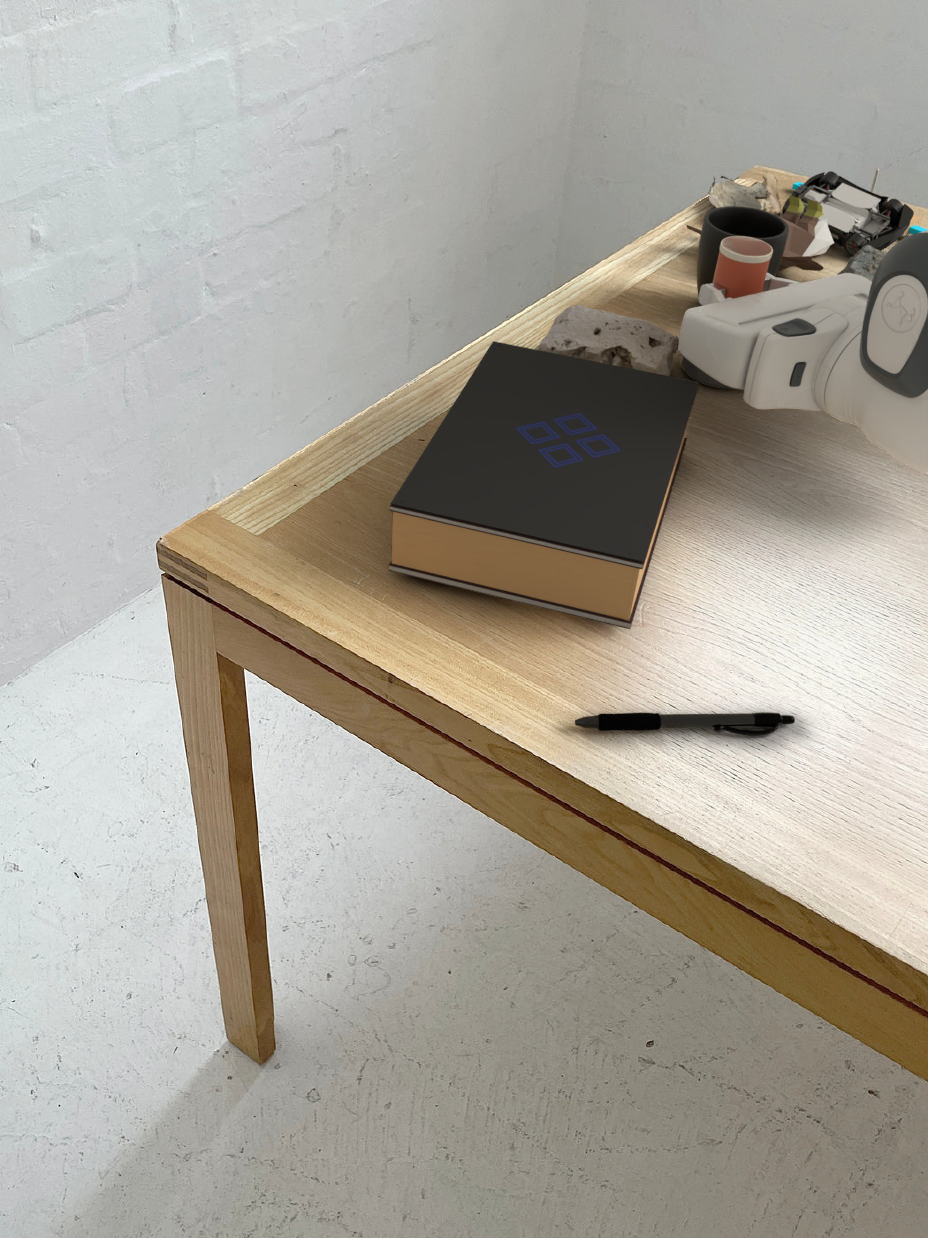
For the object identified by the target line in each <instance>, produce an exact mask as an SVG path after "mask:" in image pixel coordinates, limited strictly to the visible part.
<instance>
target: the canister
mask: <svg viewBox="0 0 928 1238" xmlns="http://www.w3.org/2000/svg"><path fill="white" fill-rule="evenodd" d="M772 253H773V249H772V247H771V246H770V245H769V244H768V243H766V242H764V241H762V240H759V239H756V238H752V237H746V236H732V237H727V238H725V239H723V240H722V241H721V244H720V252H719V256H718V261H717V265H716V270H715V274H714V279H713V283H714V282H717V283H718V284H719V285H722V286H724V287H725V288H727V291H726V295H725V297H724V298H725V299H726V298H732V299H734V298H738V297H743V296H747V295H751V294H756V293H760V292H762V290H763V286H764V282H765V278H766V274H767V270H768V266H769V262H770V258H771V256H772Z"/></svg>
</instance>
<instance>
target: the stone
mask: <svg viewBox="0 0 928 1238" xmlns="http://www.w3.org/2000/svg"><path fill="white" fill-rule="evenodd" d="M534 349H535V350H540V351H545V352H550V353H555V354H560V355H565V356H570V357H575V358H580V359H585V360H590V361H595V362H600V363H606V364H611V365H616V366H621V367H626V368H631V369H636V370H641V371H646V372H651V373H656V374H661V375H666V376H671V375H670V374H671V371H672V368H673V365H674V355H675V354H677V351H679V336H678V335H675V334H673V333H671V332H668V331H667V330H665V329H663V328H661V327H660V326H659V325H657V324H656V323H653V322H651V321H649V320H645V319H642V318H636V317H630V316H626V315H620V314H616V313H613V312H612V311H606V310H603V309H596V308H591V307H585V306H584V305H581V304H578V305H577V304H573V305H569V306H567V307H566V308H565V309H564V310H563V311H562V312H561V313H560V314H558V315H557V316H556V317H555V318H554V320H553V323H552V324H551V327H550V328H549V331H548V332H547V334H546V335H545V336H544V337H543V338H542V340H541V341H540V342H539V344H538V345H537V346H536V347H534Z"/></svg>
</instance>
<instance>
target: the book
mask: <svg viewBox="0 0 928 1238" xmlns="http://www.w3.org/2000/svg"><path fill="white" fill-rule="evenodd" d="M699 385H700V383H699V382H697V381H695V380H690V379H685V378H680V377H676V376H671V375H669V376H666V375H661V374H656V373H651V372H646V371H641V370H636V369H631V368H626V367H621V366H616V365H611V364H606V363H600V362H595V361H590V360H585V359H580V358H575V357H570V356H565V355H560V354H555V353H550V352H545V351H540V350H535V348H530V347H526V346H520V345H514V344H509V343H505V342H500V341H492V342H491V343H490V345H489V347H488V349H487V350H486V352H485V353H484V354H483V357H481V359H480V361H479V362H478V364H477V365H476V368H475V369H474V370H473V372H472V374H471V376H470V377H469V379H468V380H467V381H466V383H465V385H464V386H463V387H462V389H461V391H460V392H459V394H458V396H457V397H456V398H455V401H454V402H453V404H452V405H451V407H450V409H448V412H447V413H446V414H445V416H444V418H443V420H442V421H441V422H440V424H439V426H438V428H437V429H436V431H435V432H434V434H433V435H432V437H431V439H430V441H429V442H428V443H427V445H426V446H425V448H424V450H423V451H422V453H421V455H420V456H419V458H418V459H417V460H416V462H415V463H414V466H413V467H412V469H411V470H410V472H409V473H408V474H407V476H406V478H405V479H404V481H403V483H402V485H401V486H400V487H399V489H398V491H397V492H396V494H395V496H394V497H393V499H392V500H391V502H390V504H389V508H390V509H389V511H390V512H392V514H391V515H392V516H391V552H390V553H391V555H390V557H391V558H390V559H391V560H390V562H389V563H388V566H389V567H388V572H393V573H395V574H400V575H404V576H408V577H413V578H416V579H421V580H424V581H429V582H432V583H437V584H440V585H445V586H449V587H453V588H457V589H462V590H464V591H465V590H466V591H470V592H473V593H478V594H482V595H486V596H491V597H494V598H497V599H498V598H499V599H502V600H506V601H511V602H515V603H519V604H524V605H528V606H531V607H536V608H540V609H545V610H547V611H552V612H556V613H560V614H565V615H570V616H573V617H578V618H581V619H584V620H585V619H586V620H590V621H594V622H598V623H602V624H606V625H611V626H614V627H619V628H624V629H627V630H631V628H632V625H633V621H634V618H635V615H636V611H637V609H638V604H639V601H640V597H641V595H642V591H643V588H644V585H645V581H646V578H647V574H648V572H649V568H650V565H651V561H652V559H653V555H654V552H655V549H656V545H657V541H658V539H659V535H660V531H661V528H662V525H663V522H664V518H665V515H666V511H667V507H668V504H669V502H670V498H671V495H672V491H673V488H674V484H675V481H676V477H677V474H678V471H679V468H680V465H681V461H682V458H683V455H684V451H685V448H686V445H687V440H688V437H686V433H687V430H688V429H687V428H688V424H689V420H690V416H691V412H692V409H693V406H694V403H695V400H696V396H697V393H698V390H699Z"/></svg>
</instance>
